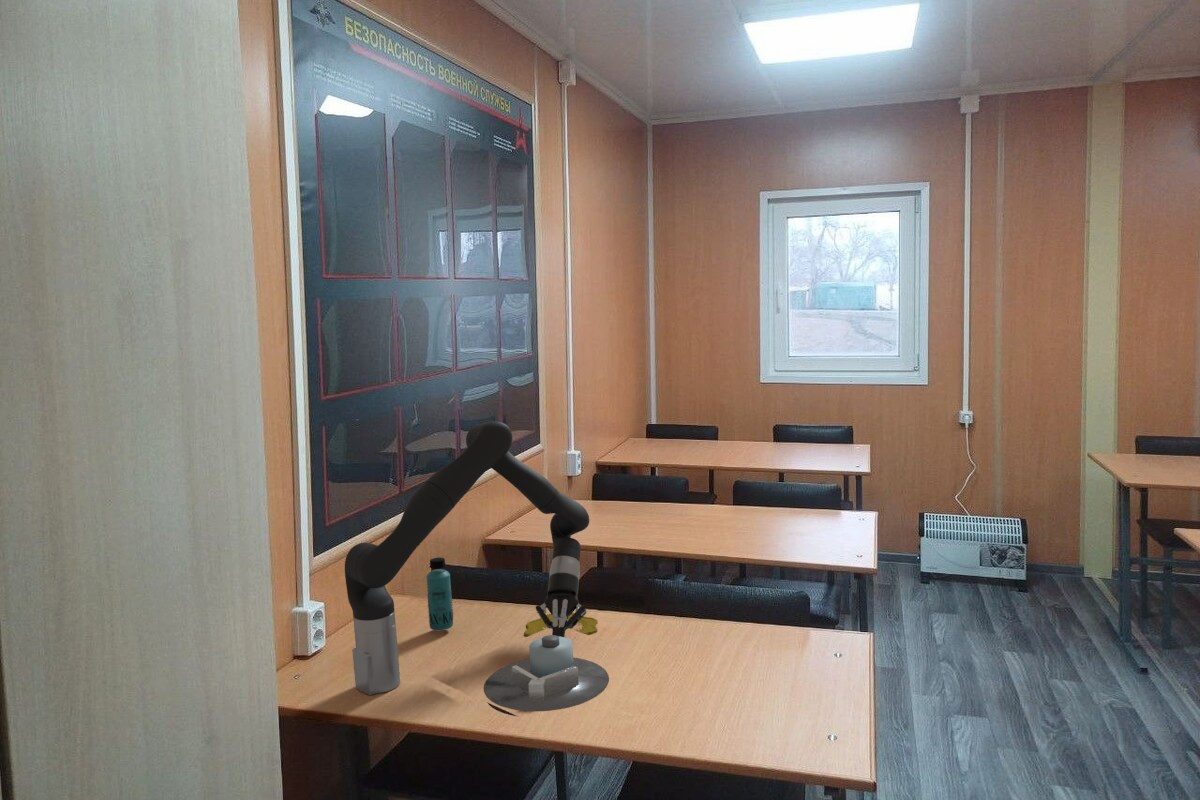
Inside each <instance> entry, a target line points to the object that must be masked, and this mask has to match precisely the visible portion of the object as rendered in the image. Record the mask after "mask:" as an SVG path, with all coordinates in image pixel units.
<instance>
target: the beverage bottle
mask: <svg viewBox="0 0 1200 800" xmlns="http://www.w3.org/2000/svg"><path fill="white" fill-rule="evenodd" d="M445 567H446V560H445V558H444V557H433V558H431V559H430V560H429V568H430V569H432V570H430V571H429V572H428V574H426V587H427V602H426V603H427V608H428V617H427V618H428V624H429V628H430V629H431V630H433V631H446V630H448V629H451V628H452V627H453V626H454V621H455V620H454V608H453V598H452V597H453V595H452V588H451V587H452V584H451V583H452V582H451V573H450V572H449V571H448V570H446V569H444V568H445Z"/></svg>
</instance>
